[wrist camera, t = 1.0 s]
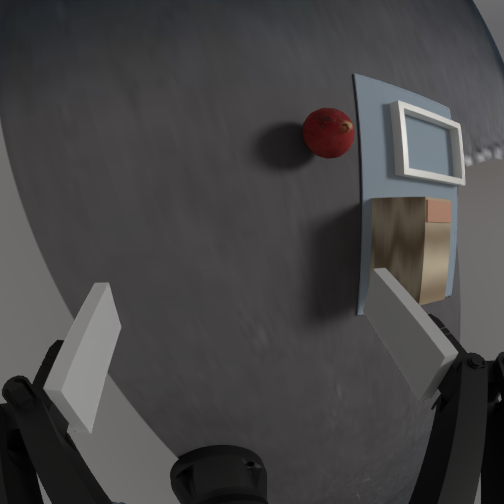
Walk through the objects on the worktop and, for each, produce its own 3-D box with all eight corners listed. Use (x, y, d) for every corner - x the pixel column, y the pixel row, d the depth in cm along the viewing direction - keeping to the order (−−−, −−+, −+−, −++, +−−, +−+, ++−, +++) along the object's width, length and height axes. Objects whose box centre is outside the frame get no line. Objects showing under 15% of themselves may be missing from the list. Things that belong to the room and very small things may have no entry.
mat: (450, 294, 45) (451, 295, 45) (356, 314, 40) (358, 315, 39) (448, 108, 41) (449, 108, 40) (353, 74, 35) (354, 73, 35)
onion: (283, 142, 34) (314, 126, 26) (306, 108, 34) (338, 87, 26) (321, 171, 35) (357, 162, 28) (341, 137, 36) (378, 123, 28)
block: (394, 282, 40) (445, 299, 31) (368, 286, 39) (420, 305, 29) (398, 199, 39) (452, 199, 29) (371, 198, 37) (426, 196, 28)
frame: (456, 185, 42) (465, 185, 40) (395, 175, 38) (404, 174, 36) (452, 125, 41) (460, 124, 39) (389, 103, 37) (397, 100, 35)
